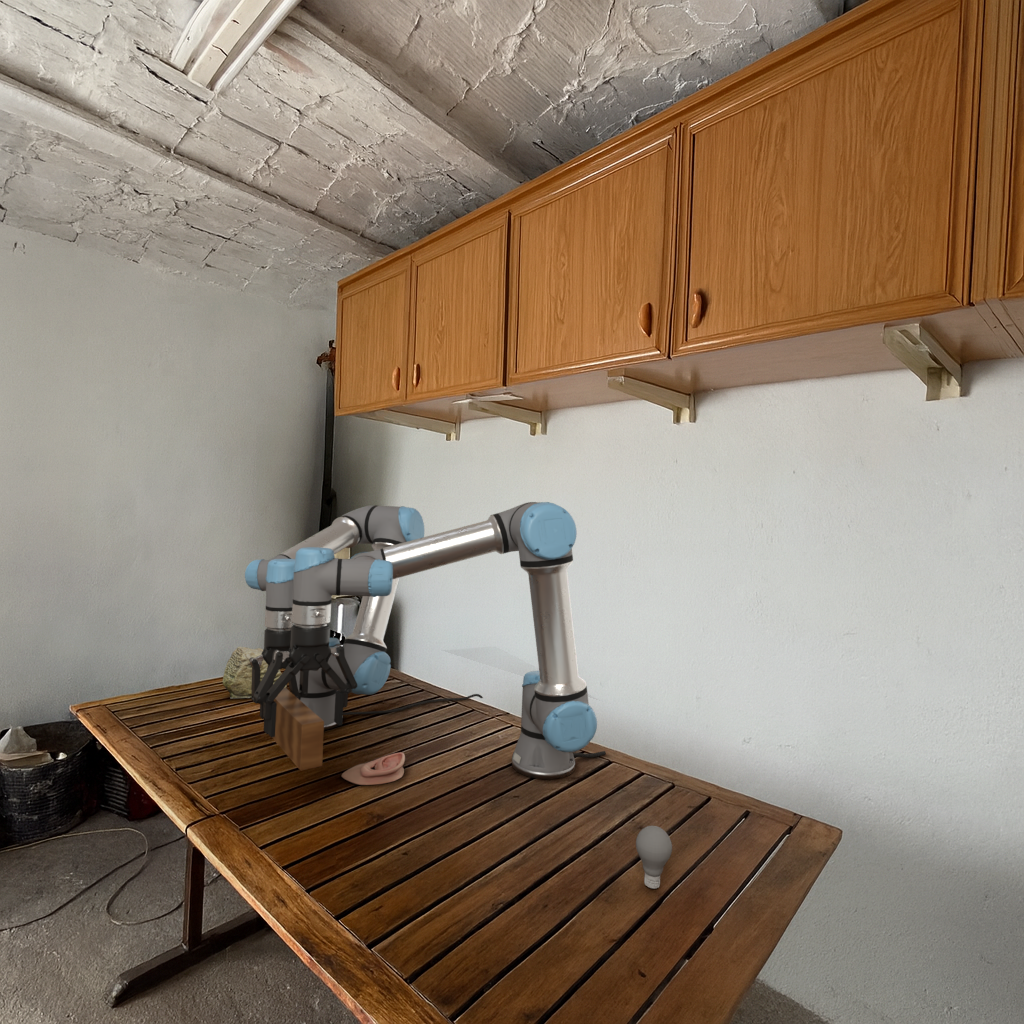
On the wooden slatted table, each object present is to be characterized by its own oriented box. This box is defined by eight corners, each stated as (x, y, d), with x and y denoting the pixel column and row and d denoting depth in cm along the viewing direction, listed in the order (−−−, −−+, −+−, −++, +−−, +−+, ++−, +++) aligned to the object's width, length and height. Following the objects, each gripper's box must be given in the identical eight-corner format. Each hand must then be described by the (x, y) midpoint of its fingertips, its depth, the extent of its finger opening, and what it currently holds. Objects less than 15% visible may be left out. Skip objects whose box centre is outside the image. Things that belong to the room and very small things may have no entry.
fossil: (218, 695, 195) (220, 647, 195) (278, 685, 208) (279, 640, 207) (228, 703, 189) (230, 653, 188) (289, 692, 201) (290, 645, 201)
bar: (264, 729, 145) (266, 690, 145) (284, 726, 147) (285, 687, 147) (300, 770, 124) (302, 724, 124) (322, 766, 127) (324, 721, 127)
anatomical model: (335, 763, 141) (358, 744, 152) (334, 781, 141) (357, 761, 152) (391, 771, 138) (410, 751, 149) (391, 789, 138) (410, 768, 149)
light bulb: (629, 875, 110) (632, 818, 110) (663, 875, 110) (666, 818, 110) (639, 897, 104) (642, 837, 104) (675, 897, 104) (678, 837, 104)
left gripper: (245, 634, 135) (242, 743, 135) (326, 627, 145) (322, 728, 146) (237, 627, 141) (233, 731, 141) (315, 621, 151) (311, 718, 152)
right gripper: (250, 632, 117) (245, 746, 118) (376, 623, 132) (371, 724, 132) (240, 625, 123) (235, 733, 124) (361, 617, 138) (356, 713, 138)
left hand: (278, 729), depth 144 cm, fingers closed on bar, 4 cm apart
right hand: (305, 729), depth 128 cm, fingers open, 13 cm apart
